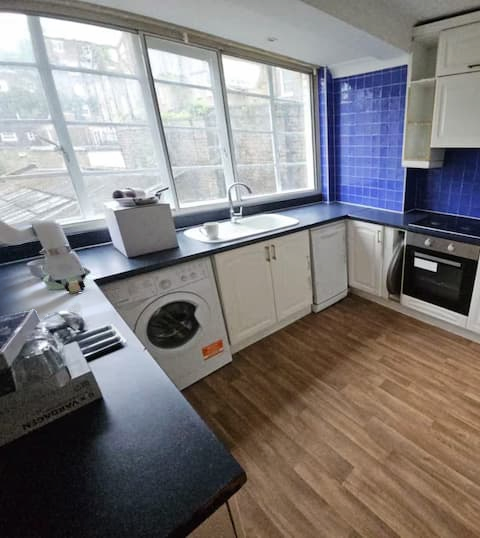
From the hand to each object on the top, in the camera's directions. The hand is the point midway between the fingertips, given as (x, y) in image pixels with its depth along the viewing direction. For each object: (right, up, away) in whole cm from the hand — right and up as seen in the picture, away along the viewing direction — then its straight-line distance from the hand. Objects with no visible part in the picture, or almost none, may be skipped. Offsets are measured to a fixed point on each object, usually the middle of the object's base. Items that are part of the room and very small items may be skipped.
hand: (76, 290), depth 126 cm
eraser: (0, -1, 0) cm, 1 cm away
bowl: (-12, +2, +8) cm, 15 cm away
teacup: (-29, +5, +16) cm, 33 cm away
